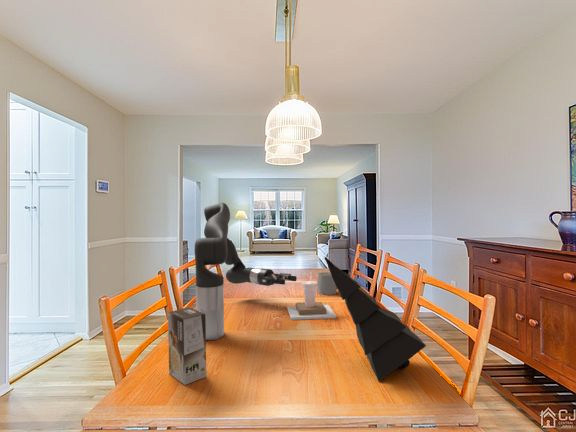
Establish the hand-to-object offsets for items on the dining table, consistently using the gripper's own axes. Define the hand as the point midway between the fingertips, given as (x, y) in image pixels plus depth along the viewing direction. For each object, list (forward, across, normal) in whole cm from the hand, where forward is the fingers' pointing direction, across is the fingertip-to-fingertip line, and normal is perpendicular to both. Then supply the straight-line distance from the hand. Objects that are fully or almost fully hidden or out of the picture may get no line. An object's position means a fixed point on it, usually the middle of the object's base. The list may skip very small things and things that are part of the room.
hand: (290, 280), depth 143 cm
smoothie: (+10, 0, +10) cm, 14 cm away
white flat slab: (+10, 0, +12) cm, 16 cm away
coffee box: (+12, -63, +13) cm, 66 cm away
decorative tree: (+50, -33, +13) cm, 61 cm away
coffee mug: (0, +36, +13) cm, 38 cm away
